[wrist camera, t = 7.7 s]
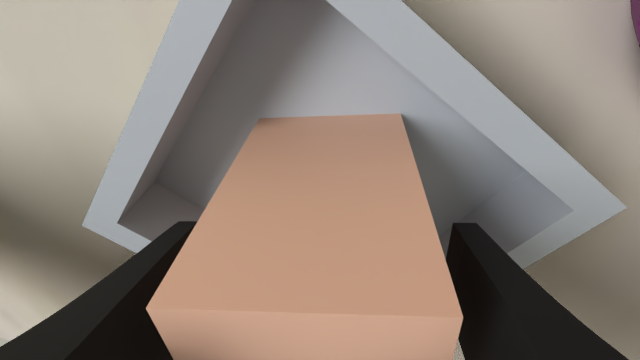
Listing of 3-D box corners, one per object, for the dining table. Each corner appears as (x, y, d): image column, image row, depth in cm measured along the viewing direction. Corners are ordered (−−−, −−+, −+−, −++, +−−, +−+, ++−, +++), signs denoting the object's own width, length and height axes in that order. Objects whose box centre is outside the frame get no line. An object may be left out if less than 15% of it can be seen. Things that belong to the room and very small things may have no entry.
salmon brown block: (278, 224, 15) (217, 439, 8) (259, 118, 12) (145, 308, 6) (393, 224, 14) (428, 454, 8) (400, 113, 12) (463, 317, 5)
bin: (134, 174, 15) (81, 225, 12) (277, -112, 9) (242, -145, 6) (359, 302, 19) (360, 366, 16) (564, 151, 13) (627, 207, 10)
